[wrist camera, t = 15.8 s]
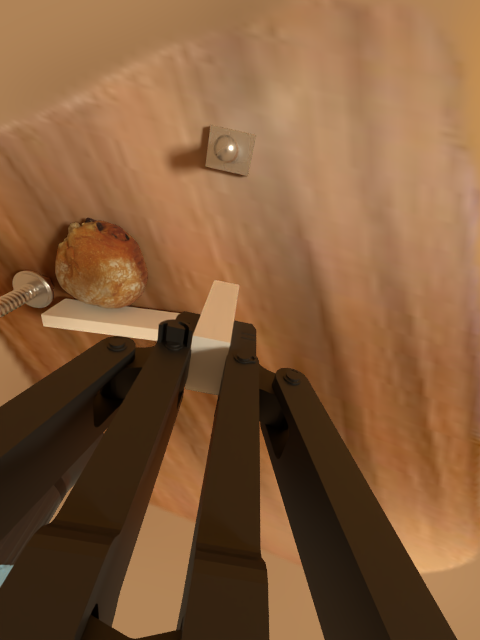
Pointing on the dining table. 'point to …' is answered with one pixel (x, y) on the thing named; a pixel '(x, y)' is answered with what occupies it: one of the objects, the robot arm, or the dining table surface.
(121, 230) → the bread roll
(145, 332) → the gate
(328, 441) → the robot arm
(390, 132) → the dining table surface
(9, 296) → the screw
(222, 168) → the grey small pieces
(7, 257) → the dining table surface
